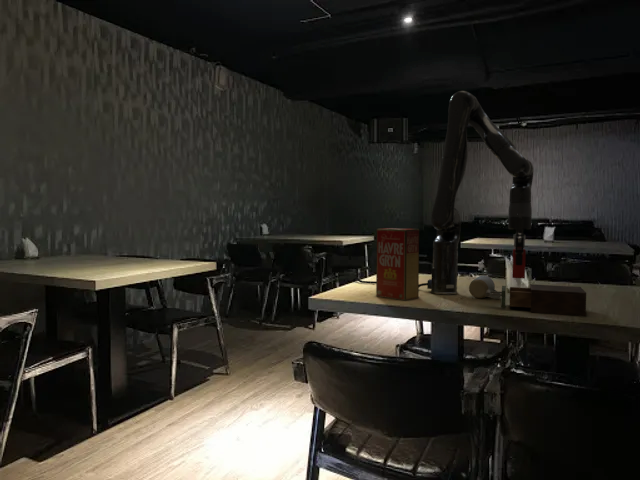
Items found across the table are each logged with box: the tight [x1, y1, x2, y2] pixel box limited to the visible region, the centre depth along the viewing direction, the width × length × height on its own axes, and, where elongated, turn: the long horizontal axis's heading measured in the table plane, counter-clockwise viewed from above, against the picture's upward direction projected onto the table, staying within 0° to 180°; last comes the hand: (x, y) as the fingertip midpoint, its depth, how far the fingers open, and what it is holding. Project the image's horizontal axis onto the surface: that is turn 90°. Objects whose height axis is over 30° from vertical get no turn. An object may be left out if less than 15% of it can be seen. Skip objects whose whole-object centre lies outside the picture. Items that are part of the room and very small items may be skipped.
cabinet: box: [529, 283, 587, 317], centre depth 156 cm, size 15×13×7 cm
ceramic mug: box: [468, 274, 501, 300], centre depth 178 cm, size 11×8×8 cm
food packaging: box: [375, 227, 420, 302], centre depth 178 cm, size 13×9×25 cm
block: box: [511, 248, 527, 279], centre depth 173 cm, size 4×4×10 cm
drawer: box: [486, 285, 531, 309], centre depth 160 cm, size 19×11×5 cm, turn 69°
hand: (518, 264), depth 173 cm, fingers closed on block, 4 cm apart
